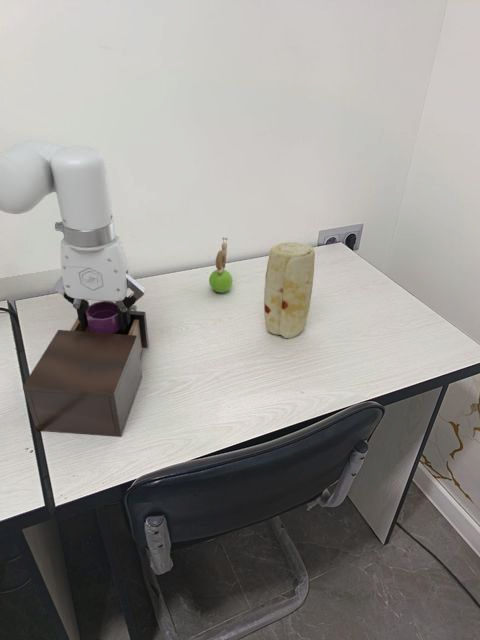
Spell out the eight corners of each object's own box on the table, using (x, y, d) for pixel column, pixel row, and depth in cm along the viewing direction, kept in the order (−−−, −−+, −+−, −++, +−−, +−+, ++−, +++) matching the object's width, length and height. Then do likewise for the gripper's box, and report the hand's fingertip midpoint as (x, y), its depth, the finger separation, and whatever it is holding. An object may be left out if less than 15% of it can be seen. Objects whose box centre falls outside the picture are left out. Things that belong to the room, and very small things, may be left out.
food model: (302, 321, 109) (313, 236, 96) (310, 339, 104) (323, 252, 91) (258, 324, 107) (264, 238, 94) (265, 342, 102) (272, 254, 89)
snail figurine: (235, 284, 119) (236, 238, 112) (229, 298, 114) (230, 251, 107) (213, 281, 120) (213, 235, 112) (206, 295, 115) (206, 247, 107)
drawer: (94, 323, 102) (88, 290, 97) (154, 327, 102) (152, 295, 97) (61, 386, 87) (52, 351, 82) (131, 391, 87) (127, 356, 82)
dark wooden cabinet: (68, 371, 91) (58, 329, 85) (142, 377, 91) (137, 335, 85) (36, 430, 79) (22, 386, 74) (121, 436, 80) (113, 393, 74)
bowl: (84, 335, 87) (80, 318, 85) (94, 316, 91) (91, 299, 89) (118, 337, 87) (115, 321, 85) (126, 318, 92) (124, 302, 89)
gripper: (25, 238, 75) (49, 334, 86) (139, 246, 75) (149, 341, 86) (44, 218, 81) (65, 310, 92) (149, 225, 81) (157, 316, 92)
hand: (105, 324), depth 89 cm, fingers closed on bowl, 6 cm apart
